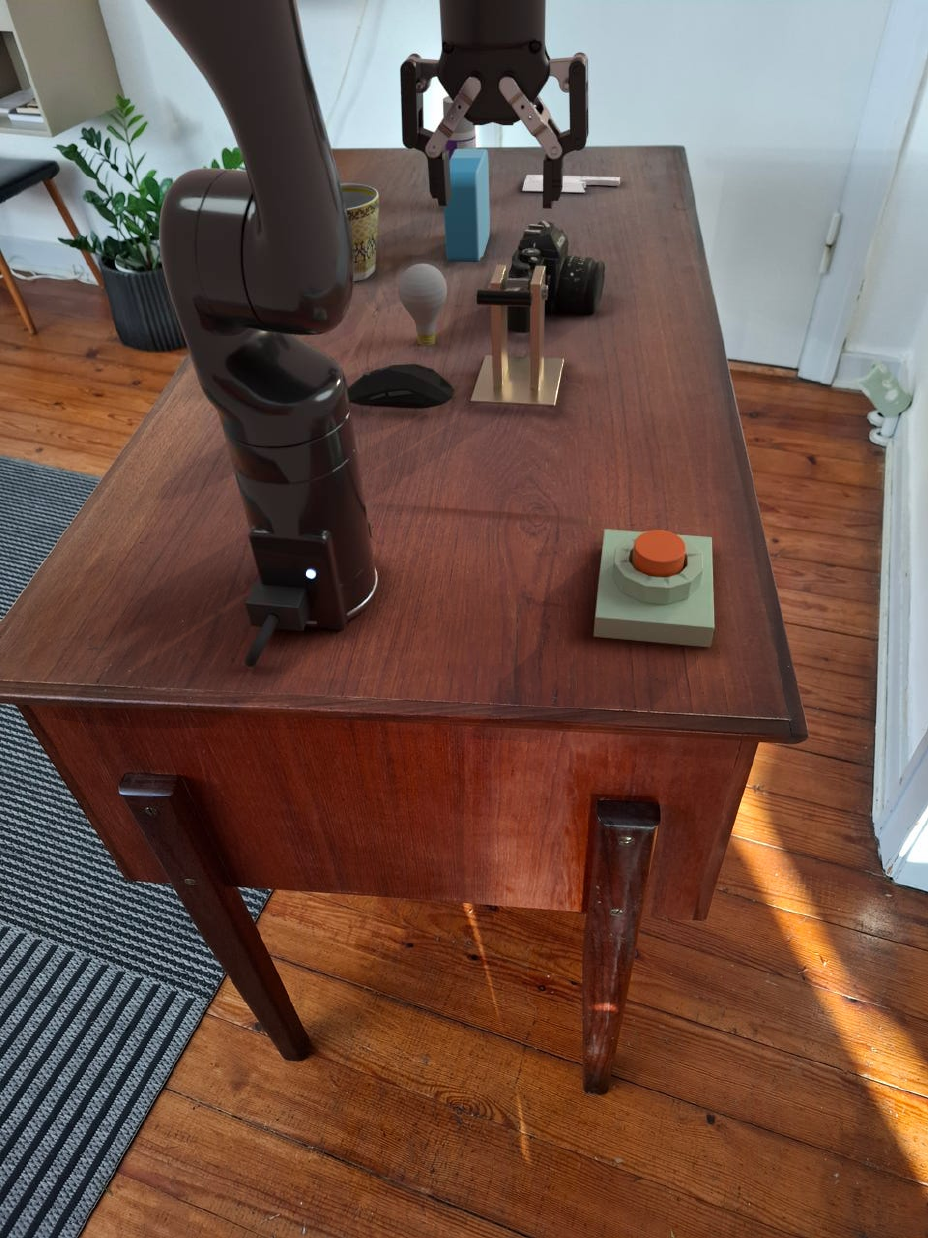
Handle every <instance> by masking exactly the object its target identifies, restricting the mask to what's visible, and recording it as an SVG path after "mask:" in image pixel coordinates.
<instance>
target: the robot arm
mask: <svg viewBox="0 0 928 1238" xmlns="http://www.w3.org/2000/svg"><path fill="white" fill-rule="evenodd" d="M144 1H145V2H146V4H147V5H148V6H149V7H150V9H151V10H152V11H153V12H154V14H155V15H156V16H157V17H158V18H159V20H160V21H161V22H162V23H163V24H164V26H165V28H166V29H167V30H168V31H169V32H170V33H171V34H172V36H173V37H174V39H175V40H176V41H177V42H178V43H179V45H180V46H181V48H182V49H183V51H185V53H186V54H187V56H189V59H190V60H191V61H192V63H193V64H194V65H195V66H196V68H197V69H198V71H199V72H200V73H201V75H202V76H203V78H204V80H205V81H206V83H207V84H208V86H209V88H210V90H211V91H212V92H213V94H214V96H215V98H216V100H217V102H218V103H219V106H220V107H221V109H222V111H223V113H224V115H225V118H226V120H227V122H228V124H229V127H230V129H231V132H232V135H233V137H234V140H235V142H236V144H237V148H238V150H239V153H240V156H241V159H242V162H243V165H244V168H245V169H244V170H241V169H230V168H229V169H228V168H211V167H209V168H207V167H205V168H194V169H191V170H189V171H186V172H185V173H183V174H180V175H179V176H178V177H177V178H176V179H175V180H173V182H172V183H171V185H170V186H169V188H168V189H167V191H166V193H165V195H164V199H163V202H162V205H161V209H160V214H159V227H158V243H159V252H160V253H159V254H160V259H161V265H162V271H163V275H164V280H165V283H166V287H167V291H168V294H169V298H170V301H171V303H172V304H171V305H172V306H173V310H174V313H175V316H176V318H177V321H178V324H179V327H180V330H181V333H182V336H183V338H184V342H185V343H186V344H185V345H186V347H187V350H188V354H189V356H190V359H191V362H192V365H193V368H194V371H195V374H196V377H197V380H198V383H199V385H200V388H201V390H202V392H203V395H205V398H207V400H208V401H209V403H210V404H211V405H212V406H213V408H214V409H215V410H216V412H217V414H218V417H219V421H220V424H221V428H222V430H223V434H224V438H225V442H226V445H227V449H228V453H229V456H230V461H231V464H232V468H233V472H234V477H235V480H236V483H237V487H238V491H239V495H240V498H241V502H242V506H243V509H244V513H245V517H246V520H247V524H248V528H249V532H248V539H249V543H250V547H251V551H252V554H253V558H254V562H255V566H256V570H257V573H258V576H259V580H260V581H255V582H254V584H253V586H252V588H251V590H250V592H249V594H248V596H247V598H246V600H245V602H244V604H245V608H246V611H247V614H248V618H249V623H250V625H251V627H256V628H257V627H258V628H260V629H259V631H258V632H257V634H256V636H255V638H254V640H253V642H252V644H251V646H250V647H249V649H248V652H247V654H246V656H245V658H244V664H245V665H246V666H247V667H249V668H253V667H256V665H257V663H258V662H259V659H260V657H261V655H262V653H263V651H264V649H265V647H266V645H267V643H268V641H269V640H270V638H271V636H272V635H273V632H274V631H275V629H278V630H288V631H297V632H298V631H300V632H303V631H304V630H305V628H313V629H325V630H336V631H343V630H345V629H346V625H347V623H348V622H349V621H350V620H352V619H354V618H356V617H357V616H359V615H361V614H362V613H363V612H364V611H365V610H366V609H368V608H369V607H370V605H371V604H372V603H373V601H374V600H375V598H376V596H377V594H378V590H379V578H378V571H377V568H376V565H375V559H374V553H373V546H372V539H373V536H372V535H373V534H372V529H371V523H370V522H369V520H368V515H367V514H368V513H367V507H366V502H365V495H364V488H363V482H362V473H361V469H360V461H359V456H358V447H357V442H356V441H357V440H356V434H355V428H354V421H353V414H352V407H351V402H350V400H349V393H348V387H349V386H348V382H347V377H346V375H345V373H344V371H343V369H342V367H341V366H340V364H339V363H338V362H337V361H336V360H335V359H334V358H333V357H331V356H330V355H329V354H327V353H325V352H324V351H322V350H321V349H319V348H317V347H315V346H313V345H312V344H310V343H308V342H307V341H305V340H303V339H302V338H300V337H299V336H317V335H325V334H326V333H329V332H331V331H333V330H335V329H336V328H338V326H339V325H340V324H341V323H342V321H343V320H344V318H345V317H346V315H347V313H348V310H349V308H350V305H351V301H352V297H353V292H354V283H355V281H354V251H353V242H352V234H351V227H350V222H349V217H348V212H347V208H346V204H345V200H344V196H343V192H342V188H341V184H342V183H341V179H340V177H339V176H340V175H339V172H338V168H337V165H336V161H335V157H334V154H333V149H332V145H331V141H330V138H329V134H328V130H327V126H326V122H325V119H324V115H323V110H322V108H321V103H320V99H319V96H318V92H317V88H316V85H315V80H314V76H313V72H312V67H311V64H310V60H309V55H308V51H307V47H306V43H305V37H304V33H303V28H302V24H301V18H300V17H301V16H300V13H299V8H298V3H297V0H144ZM438 1H439V3H438V4H439V18H440V19H439V20H440V21H439V23H440V38H441V39H440V41H441V51H440V55H439V59H435V58H434V59H432V58H431V59H430V58H422V56H420V54H418V53H410V54H409V55H408V56H407V58H406V59H405V60H404V61H403V62H402V63H401V65H400V67H399V79H400V108H401V109H400V111H401V138H402V141H401V143H402V145H403V146H404V147H405V148H406V149H408V150H413V149H415V150H417V151H419V152H421V153H423V154H424V155H425V157H426V160H427V171H428V172H427V173H428V186H429V187H428V188H429V194H430V196H431V198H432V199H434V200H435V199H437V206H438V207H444V206H448V204H449V202H450V200H451V182H450V163H449V150H446V149H445V145H446V144H447V142H448V140H449V139H450V137H451V136H452V134H453V133H454V131H455V129H456V128H457V126H458V125H459V123H460V122H461V120H462V118H463V117H464V118H465V119H466V120H468V121H469V122H472V123H473V125H475V126H485V125H488V124H492V123H494V124H496V125H500V126H514V124H516V123H518V122H520V121H521V122H522V123H523V125H524V126H525V128H526V129H527V131H528V132H529V134H530V135H531V136H532V137H533V138H535V140H536V141H537V142H538V144H539V145H540V147H541V148H542V149H543V151H544V152H545V155H544V158H543V159H542V161H543V162H542V175H543V192H542V209H544V210H545V209H546V210H548V209H549V210H551V209H553V206H554V202H558V201H559V200H560V198H561V195H562V193H563V192H562V188H563V176H564V157H565V156H566V155H567V154H569V153H571V152H574V151H577V152H580V151H582V150H583V149H585V147H586V145H587V140H588V137H589V133H590V131H589V130H590V129H589V122H590V121H589V120H590V119H589V59H588V56H587V54H586V53H584V52H581V51H580V52H579V51H578V52H577V53H575V54H574V55H573V56H570V57H556V58H551V57H550V56H549V53H548V50H547V46H546V7H547V6H546V5H547V4H546V2H547V0H438ZM550 77H553V78H555V79H556V81H557V83H558V86H559V89H560V91H562V92H563V93H566V94H567V93H568V106H569V107H568V109H569V112H568V113H569V129H567V130H564V131H561V130H560V127H558V125H557V124H556V122H555V121H554V119H553V118H552V115H551V112H550V110H549V109H548V107H547V106H546V104H545V102H544V101H543V100H542V98H541V96H540V93H541V92H542V90H543V89H544V88H545V86H546V84H547V83H548V81H549V79H550ZM433 78H437V80H438V83H440V85H441V86H442V88H443V89H444V91H445V92H446V94H447V96H449V97H450V98H451V100H452V101H453V103H452V104H451V106H450V108H449V109H448V111H447V112H446V114H445V116H444V117H443V116H442V119H441V121H440V122H439V124H438V126H437V127H436V129H435V130H434V131H432V130H430V129H428V128H425V124H424V123H425V122H424V118H425V117H424V115H425V113H424V93H426V92H427V91H428V90H429V88H430V87H431V85H432V79H433Z"/></svg>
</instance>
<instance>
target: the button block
mask: <svg viewBox="0 0 928 1238" xmlns="http://www.w3.org/2000/svg"><path fill="white" fill-rule="evenodd" d="M647 531H648V530H646V531H635V530H622V529H621V530H620V529H609V528H608V529H606V528H605V529H604V530H603V538H602V547H601V555H600V556H601V558H600V564H599V565H600V567H599V576H598V586H597V593H596V604H595V613H594V622H593V623H594V624H593V637H595V638H602V639H603V638H604V639H605V638H606V639H613V640H614V639H616V640H626V641H638V642H646V643H647V642H649V643H657V644H669V645H681V646H690V647H700V648H702V647H703V648H711V645H712V641H713V636H714V631H715V603H714V598H715V597H714V567H713V538H712V536H702V535H687V534H677V535H678V536H679V537H681V538H682V539H683V541H684V543H685V545H686V552H685V558H684V564H683V568H682V570H681V571H680V572H679V573H678V574H676V575H674V576H670V577H667V578H664V577H651V576H648V575H646V574H643V573H641V572H639V571H638V570H637V569H636V568H635V567H634V565H633V560H632V559H633V550H634V542H635V540H636V538H637V537H638V536H639V535H640V534H642V533H644V532H647Z"/></svg>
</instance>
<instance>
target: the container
mask: <svg viewBox="0 0 928 1238" xmlns="http://www.w3.org/2000/svg"><path fill="white" fill-rule="evenodd" d="M452 103H453V101H452V100H451V98H450V97H449V95H446V96H444V97H443V98H442V115H443V116H442V118H443V117H444V116H445V114H446V112H447V111H448V109H449V108H450V106H451V104H452ZM476 136H477V135H476V125H473V123H472V122H469V121H468V120H466V119H465V118H464V117H463V118H462V120H461V122H460V123H459V125H458V126H457V128H456V129H455V131H454V133H453V134H452V136H451V137H450V139H449V140H448V142H447V144H446V145H445V149H446V150H449V161H450V159H451V157H452V154H453V152H454V150H455V149H477V137H476Z"/></svg>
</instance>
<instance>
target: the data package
mask: <svg viewBox="0 0 928 1238" xmlns="http://www.w3.org/2000/svg"><path fill="white" fill-rule="evenodd" d="M449 163H450V182H451V200H450V202H449V204H448V206H443V219H444V231H445V232H444V235H445V249H446V250H445V252H446V253H445V254H446V261H447V262H480V261H481V258H483V257H484V255H485V252H486V248H487V244H488V243H489V239H490V235H491V233H490V232H491V214H490V211H491V210H490V209H491V207H490V171H489V169H490V167H489V166H490V165H489V152H488V149H486V148H476V149H455V150H454V152H453V154H452V157H451V159H450V161H449Z"/></svg>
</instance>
